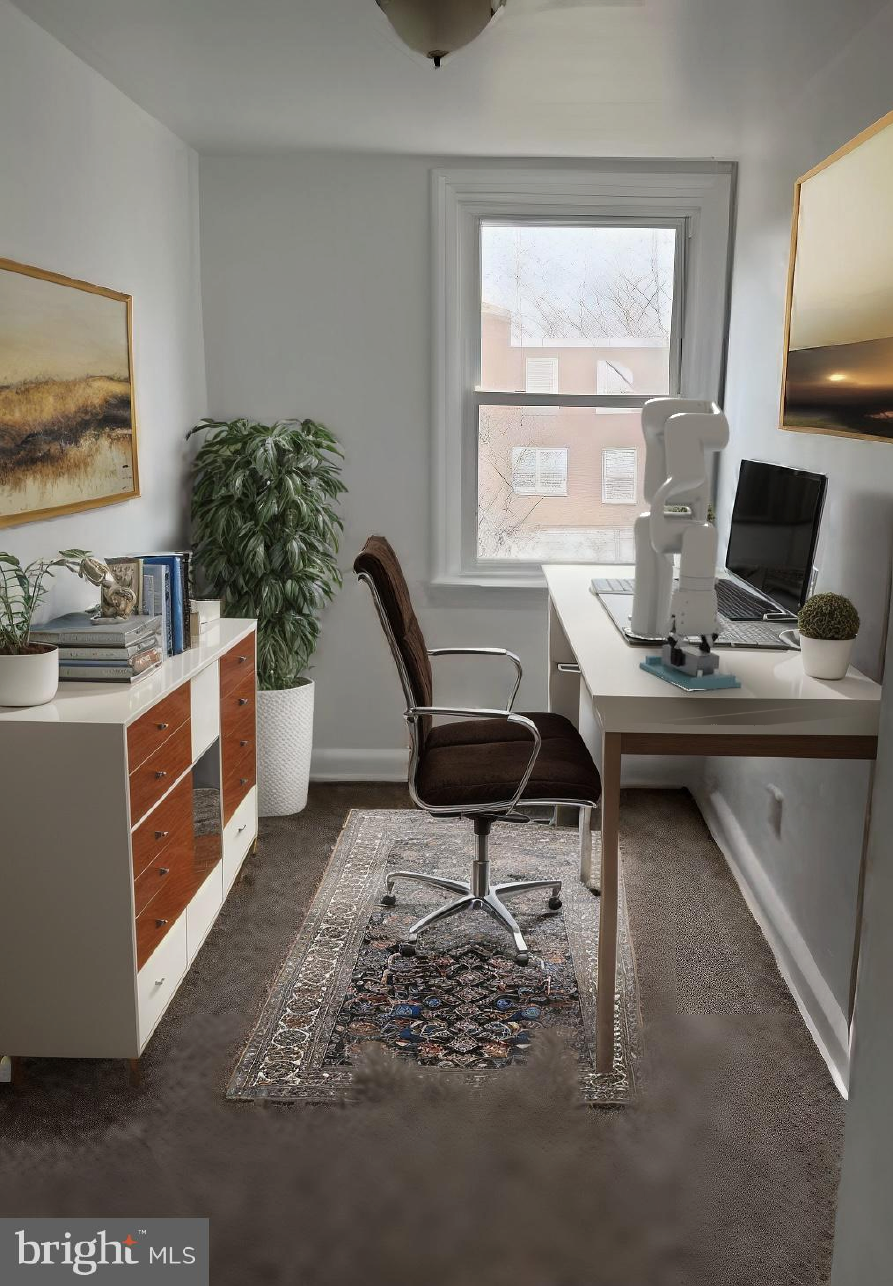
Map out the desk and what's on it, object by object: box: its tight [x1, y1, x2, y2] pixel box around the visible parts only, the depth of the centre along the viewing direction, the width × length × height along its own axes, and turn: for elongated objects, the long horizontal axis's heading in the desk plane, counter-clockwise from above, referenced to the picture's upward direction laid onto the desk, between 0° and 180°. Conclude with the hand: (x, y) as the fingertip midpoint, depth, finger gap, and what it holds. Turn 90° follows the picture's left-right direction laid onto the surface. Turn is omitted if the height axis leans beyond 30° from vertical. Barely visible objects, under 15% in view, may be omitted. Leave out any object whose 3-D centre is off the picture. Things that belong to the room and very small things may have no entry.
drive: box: [661, 642, 720, 676], centre depth 227 cm, size 12×6×4 cm, turn 26°
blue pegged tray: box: [639, 654, 742, 690], centre depth 228 cm, size 20×13×4 cm, turn 20°
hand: (689, 663), depth 227 cm, fingers closed on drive, 6 cm apart
